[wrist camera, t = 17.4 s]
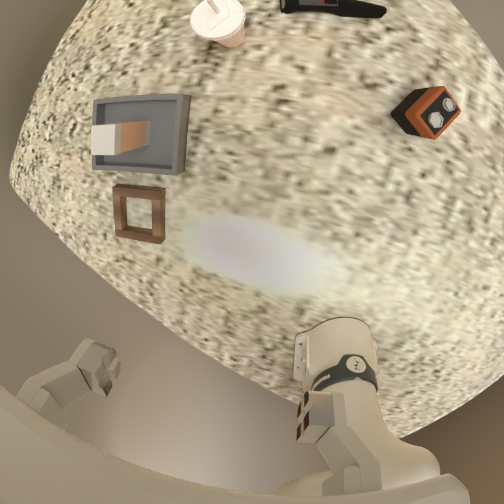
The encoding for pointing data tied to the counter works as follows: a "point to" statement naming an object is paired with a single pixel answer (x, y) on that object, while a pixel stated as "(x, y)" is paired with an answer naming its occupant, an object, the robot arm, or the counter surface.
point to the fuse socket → (157, 212)
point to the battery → (426, 112)
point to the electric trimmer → (335, 7)
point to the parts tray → (161, 132)
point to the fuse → (119, 137)
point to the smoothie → (220, 21)
